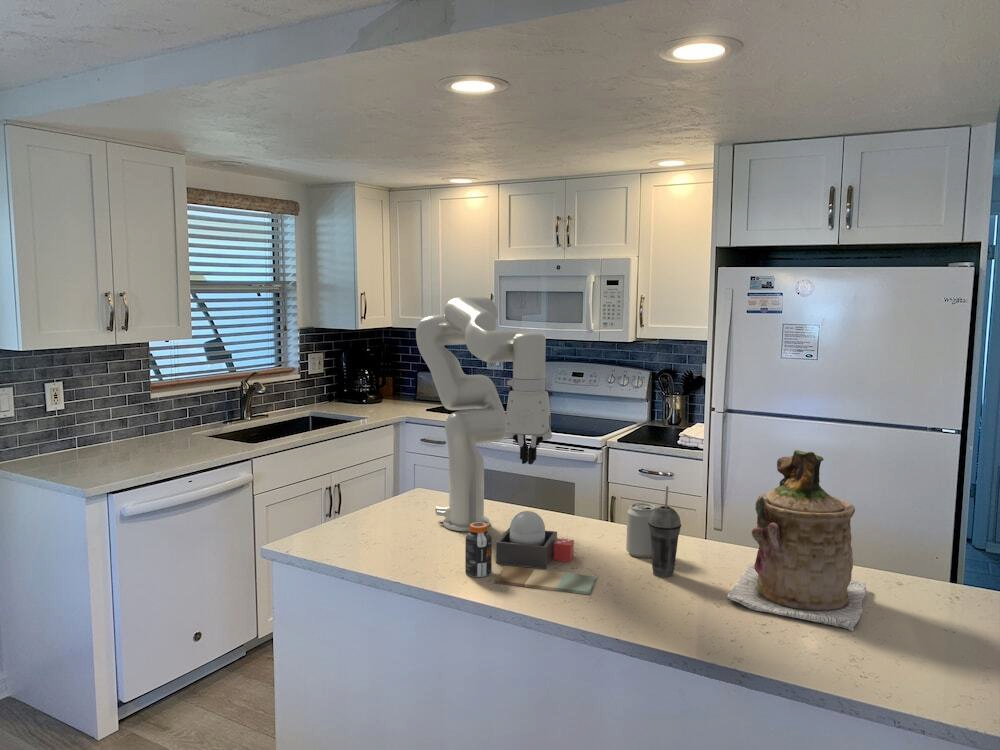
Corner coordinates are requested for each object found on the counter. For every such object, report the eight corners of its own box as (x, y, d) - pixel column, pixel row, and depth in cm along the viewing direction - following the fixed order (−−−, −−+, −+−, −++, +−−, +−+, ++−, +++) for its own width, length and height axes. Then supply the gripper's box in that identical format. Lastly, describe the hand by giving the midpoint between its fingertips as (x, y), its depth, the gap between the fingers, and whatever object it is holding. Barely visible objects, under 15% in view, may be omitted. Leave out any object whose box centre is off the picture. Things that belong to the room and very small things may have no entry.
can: (648, 561, 174) (650, 511, 173) (620, 554, 179) (621, 506, 177) (662, 552, 180) (663, 504, 179) (634, 546, 185) (636, 499, 183)
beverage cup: (642, 576, 165) (645, 489, 163) (651, 565, 171) (654, 481, 169) (674, 582, 161) (678, 493, 159) (683, 571, 168) (686, 485, 166)
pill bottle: (491, 578, 163) (491, 528, 162) (464, 577, 163) (464, 528, 162) (491, 568, 169) (491, 520, 168) (465, 567, 169) (466, 520, 168)
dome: (505, 549, 173) (505, 515, 172) (515, 538, 181) (515, 505, 180) (540, 553, 171) (540, 518, 170) (548, 541, 179) (548, 508, 178)
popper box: (495, 563, 172) (496, 542, 172) (509, 546, 184) (510, 526, 183) (565, 571, 168) (565, 549, 167) (575, 553, 179) (575, 533, 178)
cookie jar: (868, 590, 158) (877, 444, 154) (857, 635, 137) (868, 467, 133) (749, 568, 170) (756, 432, 167) (723, 606, 149) (729, 451, 146)
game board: (493, 582, 160) (493, 580, 160) (505, 568, 169) (505, 565, 169) (589, 594, 154) (589, 591, 154) (596, 578, 163) (596, 576, 163)
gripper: (492, 386, 170) (492, 464, 172) (557, 389, 166) (556, 468, 168) (502, 382, 177) (501, 457, 179) (564, 385, 173) (563, 461, 175)
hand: (528, 462), depth 174 cm, fingers closed
